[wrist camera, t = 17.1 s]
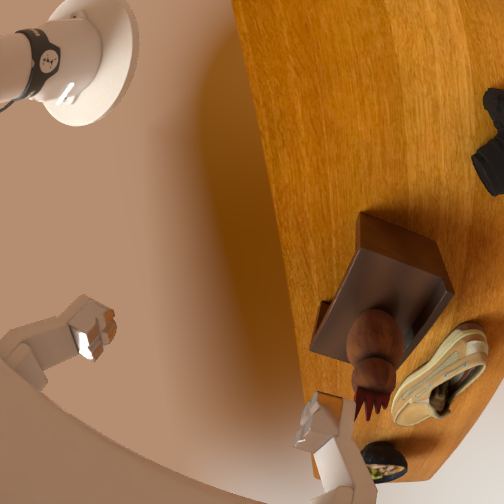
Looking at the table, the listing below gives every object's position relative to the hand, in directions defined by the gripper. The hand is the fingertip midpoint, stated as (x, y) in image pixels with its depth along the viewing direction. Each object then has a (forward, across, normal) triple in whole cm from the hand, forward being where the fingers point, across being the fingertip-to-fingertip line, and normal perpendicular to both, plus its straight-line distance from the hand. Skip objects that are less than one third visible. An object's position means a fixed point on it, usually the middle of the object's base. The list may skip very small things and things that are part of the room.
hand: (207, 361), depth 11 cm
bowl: (+33, -43, +66) cm, 85 cm away
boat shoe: (+33, -35, +31) cm, 57 cm away
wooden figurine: (+24, -14, +15) cm, 31 cm away
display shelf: (+33, -14, +15) cm, 39 cm away
